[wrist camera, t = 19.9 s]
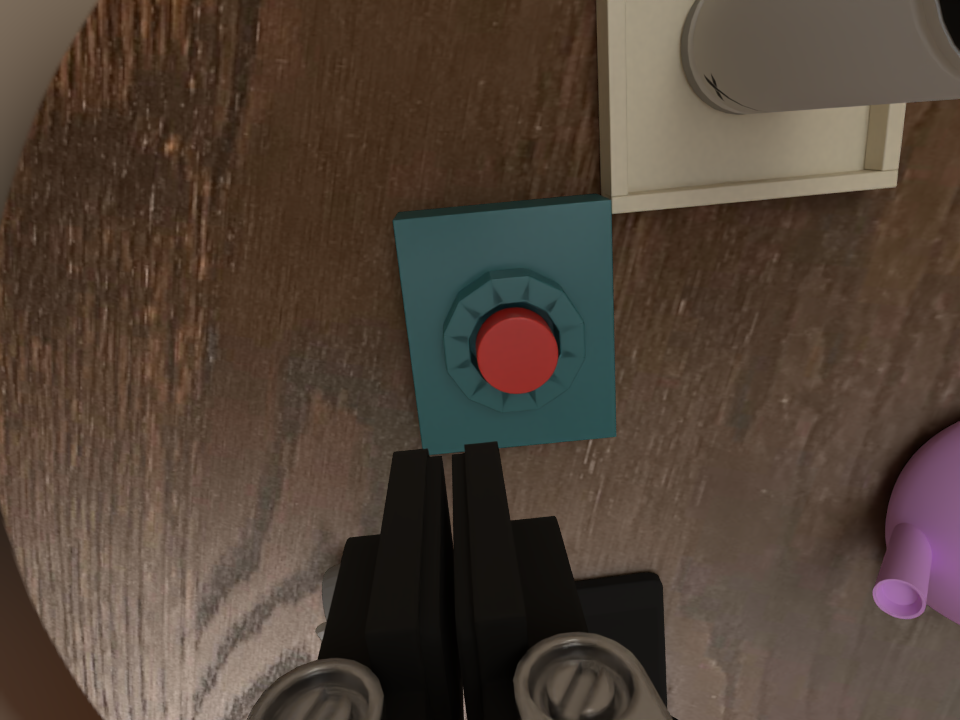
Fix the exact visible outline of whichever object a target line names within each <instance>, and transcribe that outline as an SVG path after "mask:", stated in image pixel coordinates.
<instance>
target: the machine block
mask: <svg viewBox="0 0 960 720" xmlns="http://www.w3.org/2000/svg"><path fill="white" fill-rule="evenodd" d="M393 227H394V235H395V243H396V250H397V258H398V266H399V273H400V281H401V288H402V296H403V304H404V311H405V319H406V327H407V334H408V342H409V350H410V357H411V365H412V372H413V380H414V388H415V395H416V403H417V411H418V418H419V426H420V433H421V441H422V449H426V448H428V451H429V455H435V454H445V453H455V452H465V448H464V445H465V444H475V443H484V442H494V441H497V442H498V447H499V448H506V447H516V446H526V445H537V444H547V443H557V442H567V441H577V440H587V439H598V438H608V437H616V398H615V351H614V303H613V256H612V208H611V199H608V198H606V197H603V196H601V195H599V194H585V195H575V196H564V197H554V198H543V199H533V200H522V201H512V202H501V203H490V204H480V205H469V206H459V207H448V208H438V209H427V210H417V211H406V212H398V214H397V215H396V217H395V218H394V219H393ZM511 307H520V308H525V309H529V310H531V311H533V312H535V313H537V314H538V315H540V316H541V317H542V318H543V319H544V320H545V321H546V323H547V324H548V326H549V327H550V329H551V331H552V333H553V335H554V337H555V340H556V342H557V346H558V362H557V366H556V368H555V370H554V372H553V374H552V376H551V377H550V378H549V379H548V381H547V382H545V383H544V384H543V385H542V386H540V387H539V388H537V389H535V390H533V391H530V392H527V393H522V394H511V393H506V392H503V391H500V390H498V389H496V388H494V387H493V386H491V385H490V384H489V383H488V382H487V381H486V380H485V379H484V377H483V376H482V374H481V372H480V370H479V367H478V363H477V355H476V338H477V334H478V331H479V329H480V327H481V326H482V324H483V323H484V322H485V320H486V319H487V318H488V317H490V316H491V315H492V314H494V313H496V312H497V311H500V310H502V309H506V308H511Z"/></svg>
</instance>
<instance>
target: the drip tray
mask: <svg viewBox="0 0 960 720" xmlns="http://www.w3.org/2000/svg"><path fill="white" fill-rule="evenodd" d="M694 2H695V0H596V16H597V55H598V93H599V131H600V170H601V196H603V197H606V198H608V199H611V208H612V214H619V213H630V212H640V211H651V210H661V209H672V208H682V207H693V206H703V205H714V204H724V203H735V202H745V201H756V200H766V199H777V198H787V197H798V196H808V195H819V194H829V193H840V192H850V191H861V190H871V189H882V188H893V187H896V185H897V176H898V170H897V169H898V167H899V159H900V150H901V142H902V134H903V125H904V117H905V109H906V103H894V104H881V105H867V106H853V107H839V108H826V109H812V110H798V111H784V112H771V113H757V114H743V115H735V114H728V113H724V112H721V111H719V110H716V109H714V108H712V107H711V106H709V105H708V104H706V103H705V102H703V101H702V100H701V99H700V98H699V97H698V95H697V94H696V93H695V92H694V91H693V89H692V87H691V86H690V84H689V82H688V81H687V78H686V75H685V72H684V69H683V65H682V58H681V38H682V33H683V28H684V23H685V21H686V18H687V16H688V13H689V11H690V9H691V7H692V5H693V4H694Z"/></svg>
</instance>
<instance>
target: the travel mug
mask: <svg viewBox="0 0 960 720" xmlns="http://www.w3.org/2000/svg"><path fill="white" fill-rule="evenodd" d="M681 58H682V65H683V69H684V72H685V75H686V78H687V81H688V82H689V84H690V86H691V87H692V89H693V91H694V92H695V93H696V94H697V95H698V97H699V98H700V99H701V100H702V101H703V102H705V103H706V104H708V105H709V106H711V107H712V108H714V109H716V110H719V111H721V112H724V113H728V114H735V115H743V114H757V113H771V112H784V111H798V110H812V109H826V108H839V107H853V106H867V105H881V104H894V103H908V102H922V101H935V100H949V99H960V0H695V2H694V4H693V5H692V7H691V9H690V11H689V13H688V16H687V18H686V21H685V23H684V28H683V33H682V38H681Z"/></svg>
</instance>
